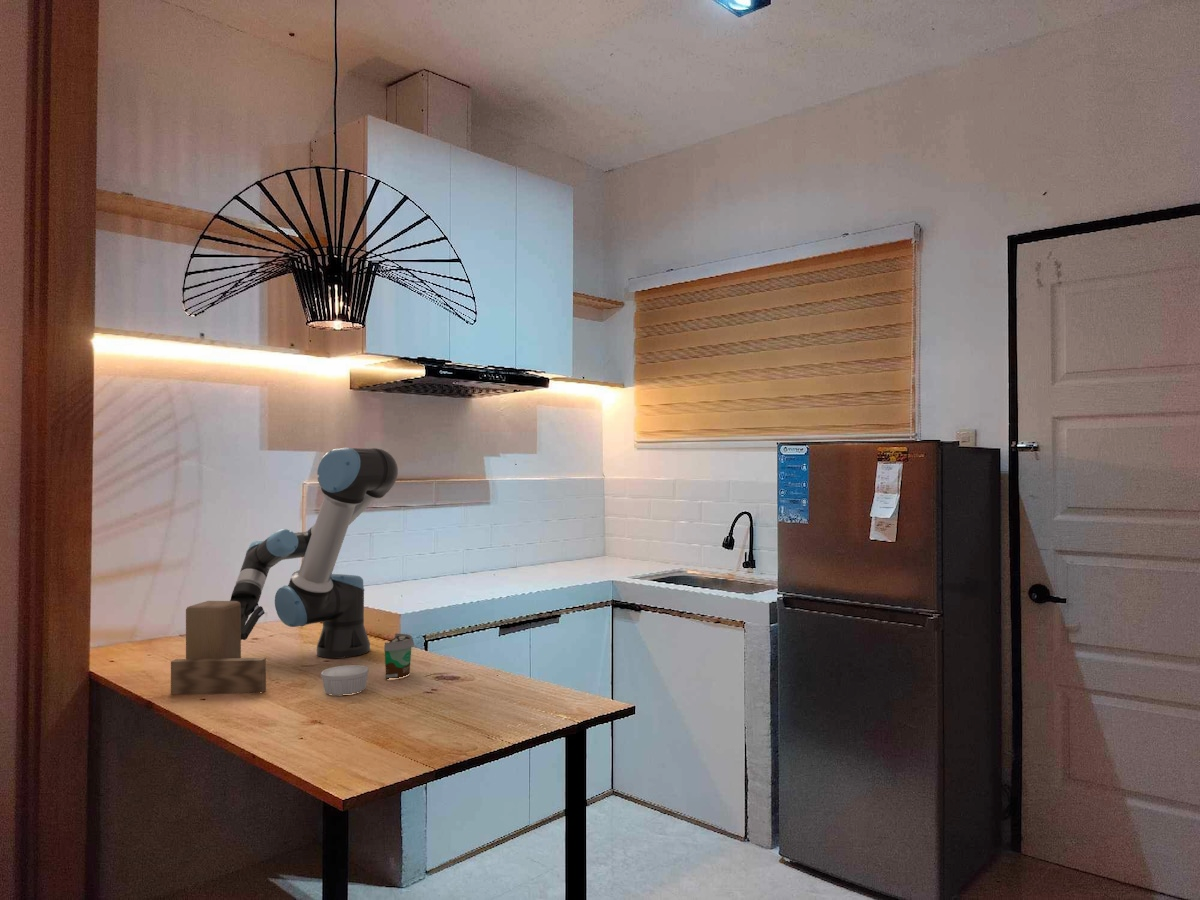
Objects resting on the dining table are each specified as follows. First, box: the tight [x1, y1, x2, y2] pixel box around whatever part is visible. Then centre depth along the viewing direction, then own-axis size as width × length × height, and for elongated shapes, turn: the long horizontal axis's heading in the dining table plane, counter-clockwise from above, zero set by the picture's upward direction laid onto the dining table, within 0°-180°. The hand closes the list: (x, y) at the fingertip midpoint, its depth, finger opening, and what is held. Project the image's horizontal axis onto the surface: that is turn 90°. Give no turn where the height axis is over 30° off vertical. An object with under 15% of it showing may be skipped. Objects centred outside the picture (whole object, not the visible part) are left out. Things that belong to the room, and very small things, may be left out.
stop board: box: [170, 657, 267, 695], centre depth 203 cm, size 22×2×8 cm, turn 92°
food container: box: [383, 633, 415, 680], centre depth 218 cm, size 12×6×10 cm, turn 0°
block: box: [185, 600, 242, 659], centre depth 214 cm, size 10×10×20 cm
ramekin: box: [320, 664, 370, 695], centre depth 203 cm, size 11×11×5 cm
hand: (223, 661), depth 222 cm, fingers closed
